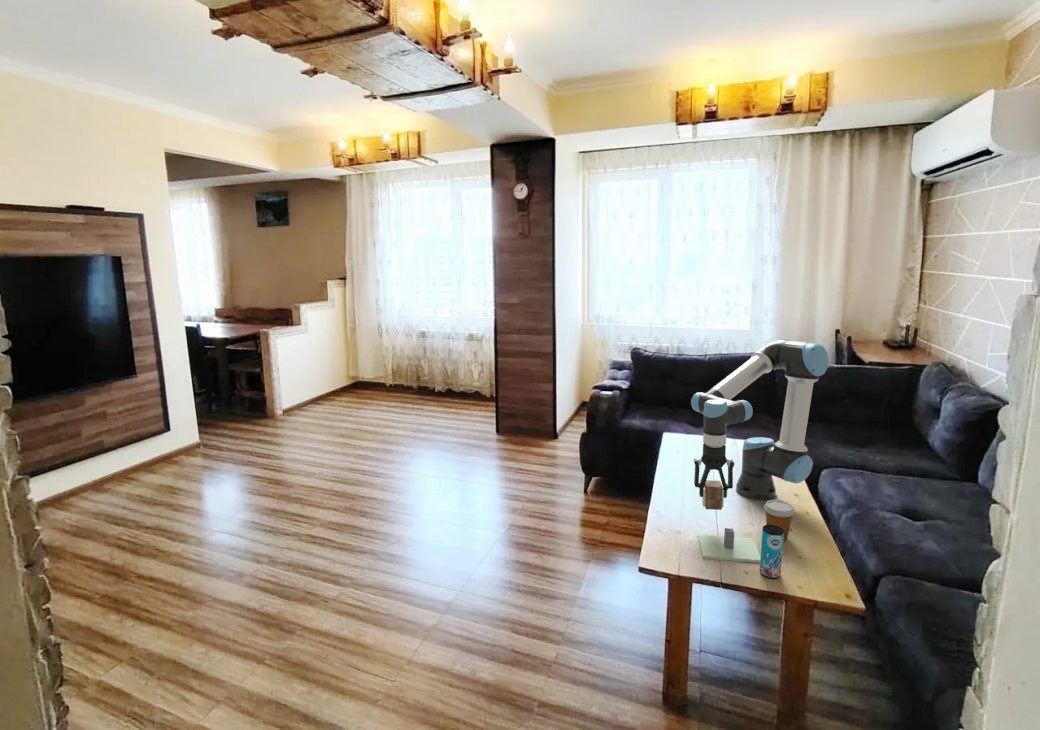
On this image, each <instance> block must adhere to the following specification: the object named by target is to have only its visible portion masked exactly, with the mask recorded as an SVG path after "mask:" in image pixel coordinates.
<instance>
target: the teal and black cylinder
mask: <svg viewBox="0 0 1040 730" xmlns="http://www.w3.org/2000/svg"><path fill="white" fill-rule="evenodd" d="M783 537H784V530H783V529H782V528H780V527H778V526H775V525H767V524H765V525H763V526H762V531H761V546H760V557H761V558H760V563H759V572H760V574H761V576H763V577H765V578H767V579H775V580H776V579H778V578H780V576H781V573H782V563H783V549H784V542H783Z"/></svg>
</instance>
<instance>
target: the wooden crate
mask: <svg viewBox="0 0 1040 730" xmlns="http://www.w3.org/2000/svg"><path fill="white" fill-rule="evenodd" d="M722 487H723V485H722V482H721V480H710V479H709V480H706V483H705V489H706V498H705V510H718V511H719V510H720V511H722V510H723V507H722Z"/></svg>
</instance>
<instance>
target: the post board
mask: <svg viewBox="0 0 1040 730" xmlns="http://www.w3.org/2000/svg"><path fill="white" fill-rule="evenodd" d="M697 538H698V539H697V540H698V543H699V547H700V551H701V554H702V558H703V559H707V560H720V561H731V562H741V563H742V562H744V563H754V564H755V563H756V564H760V558H761V553H759V550H758V548H757V545H756V543H755V541H754V538H752V537H739V536H735V531H734V529H733V528H729V527H725V528H724V535H713V534H712V535H708V534H697Z"/></svg>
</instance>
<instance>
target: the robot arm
mask: <svg viewBox="0 0 1040 730" xmlns="http://www.w3.org/2000/svg"><path fill="white" fill-rule="evenodd" d="M829 360H830V359H829V353H828V352H827V350H826V348H825V347H824V346H823V345H821V344H818V343H814V342H809V341H799V340H790V339H779V340H775V341H772V342H770V343H767V344H765V345H763V346H762V347H760V348H758V349H757V350H755V351H754V352H753V353H752V354H751V355H750V358H749V359H748V360H746V361H745V362H744V363H743V364H741V365H740V366H739V367H738V368H736V369H735V370H733V372H731V373H729V374H728V375H727V376H726V377H724V378H723V379H722V380H720V381H719V382H718V383H716V385H713V387H711V389H709V390H708V391H706V392H700V391H699V392H696V393H694V394H693V396H692V397H691V401H690V404H691V407H692V410H694V411H695V412H698V413H700V414H702V415H703V430H702V431H703V435H702V437H703V438H702V456H701V457H700V458H698V459H697V458H694V459H693V462H694V478H693V479H694V481H693V482H694V483H693V484H694V487H695V488H698V489H699V497H700V498H702V500H701V503H702V506H703V507H705V498H706V489H705V483H706V480H707V479H708V478H709V477H708V476H709V473H710V472H711V471H712V470H716V471H717V472H718V475H719V478H720V482H721V485H722V508H724V500H725V499H727V497H728V490H729V489H733V488H734V479H733V477H734V476H733V475H734V472H733V470H734V467H735V461H734V460H733V459H727V457H726V455H727V453H726V450H727V449H726V447H727V445H726V443H727V426H730V425H735V424H738V423H743V422H746V421H748V420H750V419H751V418H752V416H753V411H754V410H753V407H752V404H751V403H750V402H749V401H747V400H744V399H741V400H740V399H737V400H732V399H733V398H734V397H736V396H737V395H738V394H740V393H741V392H742V391H743V390H745V389H746V388H747V387H748V386H750V385H751V384H752V383H754V382H755V381H756V380H757V379H759V378H760V377H762V375H764V374H769V373H771V371H773V370H780V369H781V370H784V377H785V378H786V379H787V386H786V394H785V395H786V396H785V401H784V407H783V413H782V420H781V427H780V434H779V440H777V441H776V442H775V440H774V438H770V437H763V436H761V437H760V436H757V437H749V438H746V439H745V440H744V441H743V444H742V457H741V458H742V459H741V472H740V475H739V477H738V480H737V482H736V486H735V489H736V492H737V493H738V494H740V495H741V496H743V497H745V498H748V499H752V500H753V499H754V500H770V499H771V500H772V499H773V498H775V497H776V493H777V492H776V491H777V489H776V485H775V482H774V478H773V477H775V478H778V479H781V480H783V481H784V482H789V483H792V484H800V483H802V482H804V481H805V480H806V479H807V478H808V477H809V475H810V474H811V472H812V469H813V465H814V462H813V459H812V457H810V456H809V455H808V451H809V449H808V447H807V446H806V445H805V442H806V441H805V439H806V435H807V427H808V421H809V414H810V407H811V402H812V396H813V389H814V383H816V382H818V381H819V379H820V377H821V376H823V375H824V374H825V373H826V372H827V370H828V368H829V363H830V361H829ZM702 463H703V464H704V470H703V473H702V476H701V478H700V466H701V465H702ZM725 465H726V466H727V483H726V479H725V476H724V472H723V466H725Z"/></svg>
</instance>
